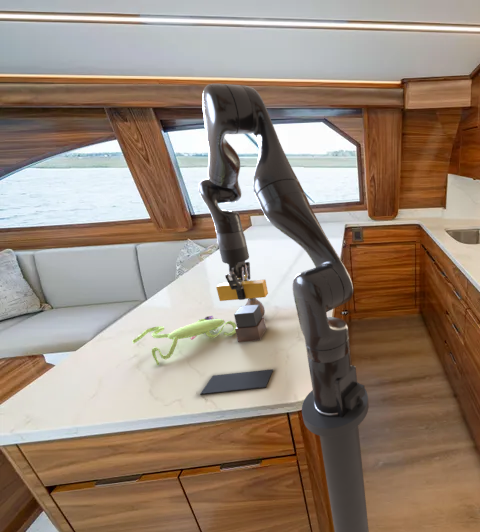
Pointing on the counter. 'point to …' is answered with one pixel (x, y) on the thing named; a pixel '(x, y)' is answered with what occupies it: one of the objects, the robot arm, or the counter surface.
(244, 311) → the tower top
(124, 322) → the counter surface
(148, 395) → the counter surface
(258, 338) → the tower base
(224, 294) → the bar
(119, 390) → the counter surface
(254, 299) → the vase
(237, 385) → the mat
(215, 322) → the figurine
